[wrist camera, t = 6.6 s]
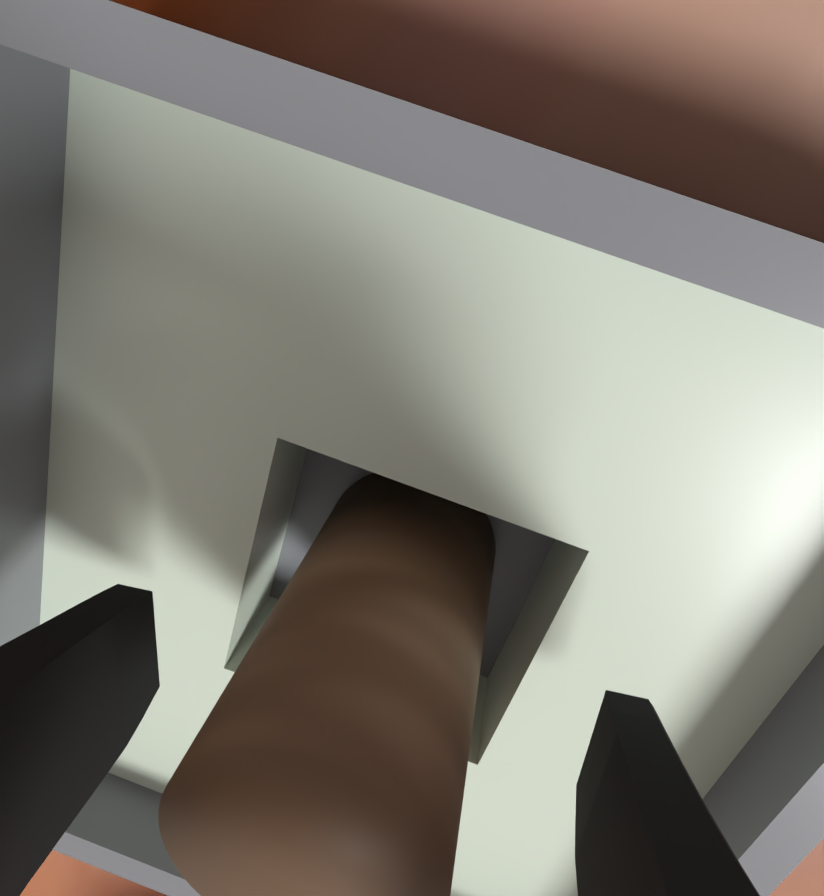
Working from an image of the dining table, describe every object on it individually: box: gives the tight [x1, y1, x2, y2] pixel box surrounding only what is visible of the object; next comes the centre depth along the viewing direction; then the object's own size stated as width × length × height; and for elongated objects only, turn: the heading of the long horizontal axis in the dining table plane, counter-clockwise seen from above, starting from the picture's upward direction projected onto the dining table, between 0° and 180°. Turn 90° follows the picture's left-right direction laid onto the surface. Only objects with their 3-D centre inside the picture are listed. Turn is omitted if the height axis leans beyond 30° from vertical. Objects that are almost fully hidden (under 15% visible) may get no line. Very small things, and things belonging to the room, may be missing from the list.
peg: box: [158, 473, 496, 896], centre depth 11 cm, size 4×4×7 cm
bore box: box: [0, 0, 824, 896], centre depth 13 cm, size 15×16×4 cm
